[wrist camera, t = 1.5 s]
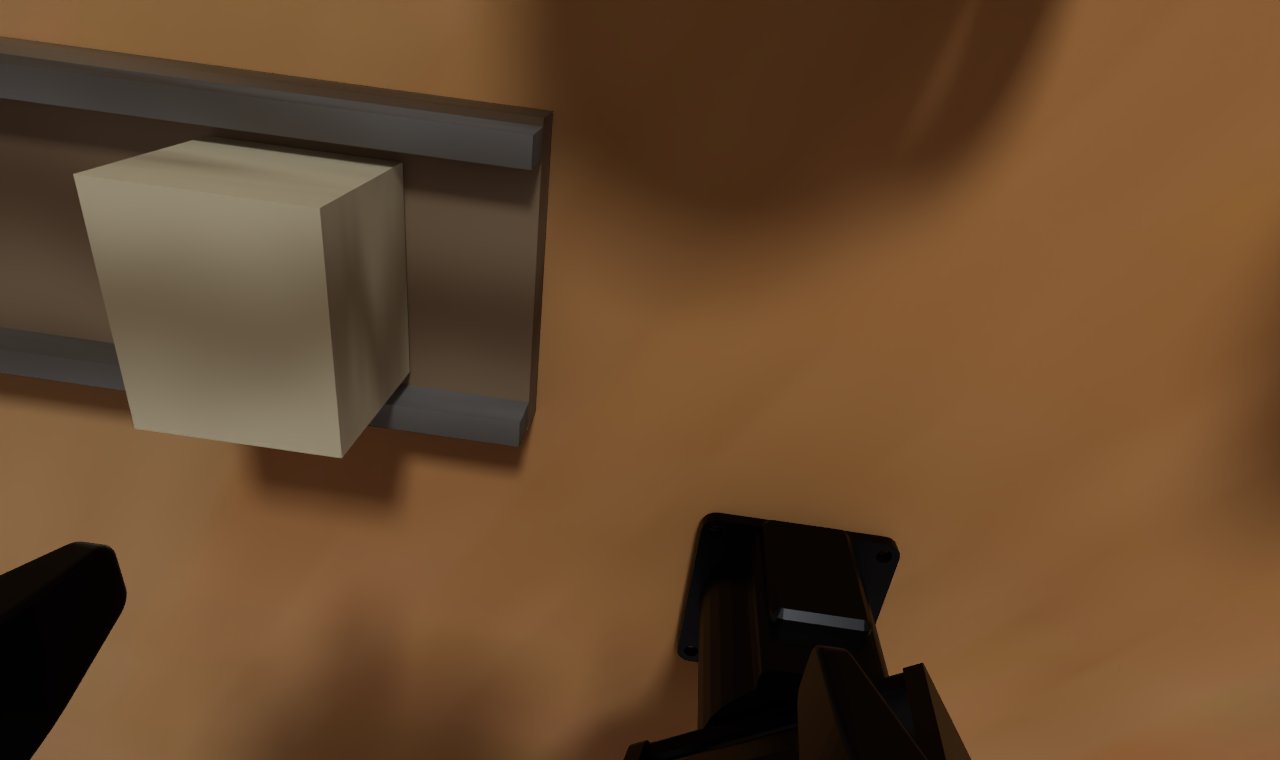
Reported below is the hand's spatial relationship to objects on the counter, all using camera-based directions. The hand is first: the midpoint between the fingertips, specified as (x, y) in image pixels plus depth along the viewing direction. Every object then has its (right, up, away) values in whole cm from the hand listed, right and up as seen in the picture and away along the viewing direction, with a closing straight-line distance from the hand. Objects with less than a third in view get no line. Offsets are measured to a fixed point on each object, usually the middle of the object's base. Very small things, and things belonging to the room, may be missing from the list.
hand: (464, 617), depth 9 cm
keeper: (-7, +6, +11) cm, 14 cm away
